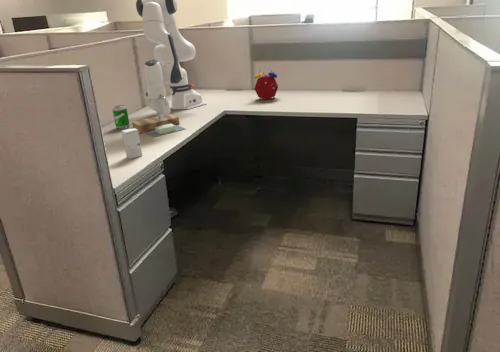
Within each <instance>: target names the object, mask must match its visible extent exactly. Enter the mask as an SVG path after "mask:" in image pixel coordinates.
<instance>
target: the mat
mask: <svg viewBox="0 0 500 352" xmlns="http://www.w3.org/2000/svg"><path fill="white" fill-rule="evenodd" d="M175 126H176V130H175V131H171V132H167V133H163V134H159V133H157V132H156V131H155V130H153V131H149V132H145V133H144V134H146V133H147V135H148V136H150V137H151V138H156V137H160V136H164V135H168V134H173V133H176V132H180V131H184V130H186V128H185V127H183V126H180V124H179V125H175Z"/></svg>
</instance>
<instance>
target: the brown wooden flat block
mask: <svg viewBox="0 0 500 352" xmlns="http://www.w3.org/2000/svg"><path fill="white" fill-rule="evenodd" d="M131 123H132V128H136V129H137V130H138V133H139V132H140V133H139V134H141V133H142V134H145V133H144V132H149V131H153V130H155V127H158V126H162V125H167V124H173V125H179V126H180V124H181V123H180V117H179V116H177V115H174V114H172V113H170V114H167V115H164V120H163V121H161V120H159V118H158V115H156V116H152V117H148V118H144V119H139V120H134V121H131Z"/></svg>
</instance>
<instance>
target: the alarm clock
mask: <svg viewBox="0 0 500 352" xmlns="http://www.w3.org/2000/svg"><path fill="white" fill-rule="evenodd" d="M263 69H269V70H270V72H268V74H265V72H261V71H260V70H263ZM277 78H278V75H277V74H276V73H275V71H272V68H271V67H267V66H263V67H261V68H258V72H256V74H255V75H254V80H256V83H255V86H254V88H253V89H254V91H255V93H256V96H257V97H258V99H259V100H261V99H263V100H266V101H268V100H270V99H272V98H273V99H276V94H277V91H278V89H279V88H278V87H279V84H278V82H277V80H276V79H277Z"/></svg>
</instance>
